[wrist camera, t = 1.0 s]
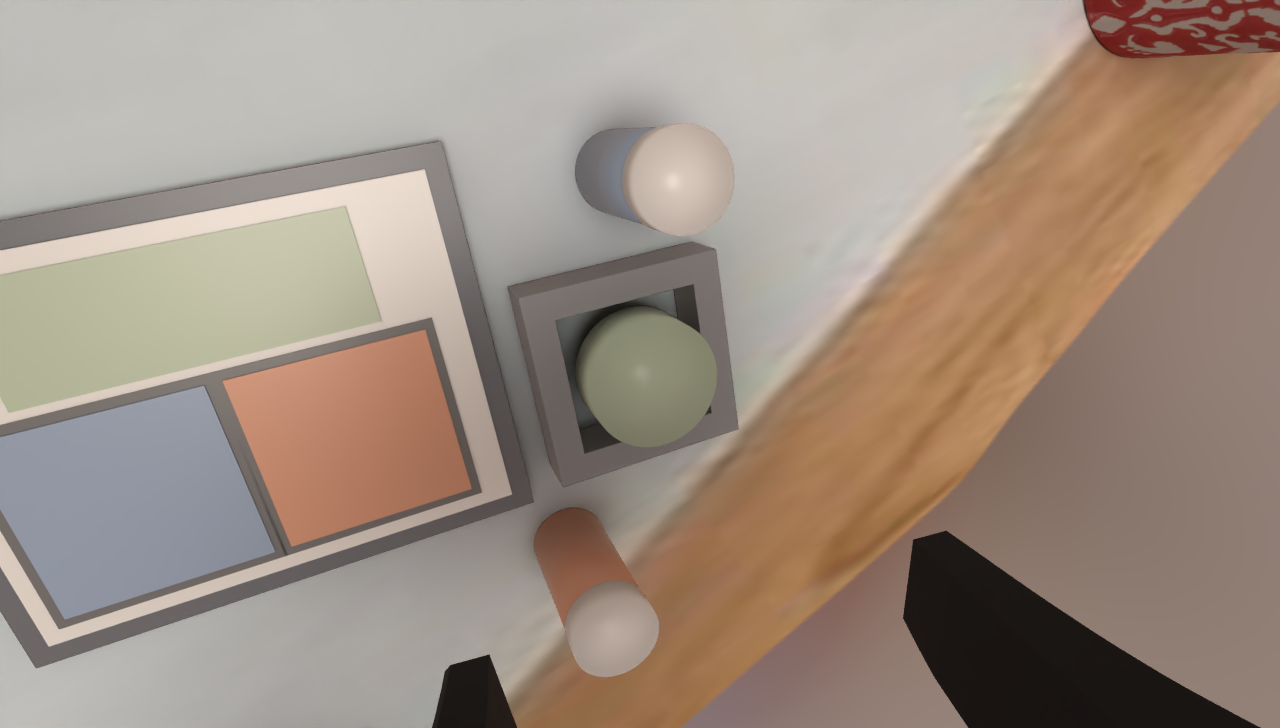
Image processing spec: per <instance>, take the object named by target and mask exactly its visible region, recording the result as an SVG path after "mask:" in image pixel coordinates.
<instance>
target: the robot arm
mask: <svg viewBox="0 0 1280 728" xmlns="http://www.w3.org/2000/svg"><path fill="white" fill-rule="evenodd" d="M903 619H904V621H905V623H906V624H907V627H908V629H909V631H910V632H911V634H912V636H913V638H914V640H915V642H916V644H917V646H918V648H919V650H920V651H921V654H922V655H923V657H924V659H925V661H926V663H927V665H928V666H929V668H930V670H931V672H932V674H933V676H934V677H935V679H936V680H937V682H938V683H939V685H940V686H941V688H942V689H943V691H944V692H945V694H946V695H947V697H948V698H949V700H950V701H951V703H952V704H953V705H954V707H955V709H956V710H957V711H958V713H959V714H960V716H961V718H962V719H963V720H964V722H965V723H966V725H967V726H968V728H1260V727H1258V726H1256V725H1254V724H1252V723H1250V722H1248V721H1246V720H1245V719H1242V718H1241V717H1239V716H1237V715H1235V714H1233V713H1232V712H1230V711H1228V710H1226V709H1224V708H1222V707H1220V706H1219V705H1216V704H1215V703H1213V702H1211V701H1209V700H1207V699H1206V698H1204V697H1202V696H1200V695H1198V694H1196V693H1194V692H1193V691H1191V690H1189V689H1187V688H1185V687H1184V686H1182V685H1180V684H1178V683H1177V682H1175V681H1173V680H1171V679H1169V678H1168V677H1166V676H1164V675H1163V674H1161V673H1159V672H1158V671H1156V670H1154V669H1153V668H1151V667H1149V666H1148V665H1146V664H1144V663H1143V662H1141V661H1140V660H1138V659H1136V658H1135V657H1133V656H1131V655H1130V654H1128V653H1126V652H1125V651H1123V650H1121V649H1120V648H1118V647H1116V646H1115V645H1113V644H1112V643H1110V642H1109V641H1107V640H1106V639H1104V638H1102V637H1101V636H1099V635H1098V634H1096V633H1094V632H1093V631H1091V630H1090V629H1088V628H1087V627H1085V626H1084V625H1082V624H1081V623H1079V622H1078V621H1076V620H1075V619H1073V618H1072V617H1070V616H1069V615H1067V614H1066V613H1064V612H1063V611H1061V610H1060V609H1058V608H1057V607H1055V606H1054V605H1052V604H1051V603H1049V602H1048V601H1046V600H1045V599H1043V598H1042V597H1040V596H1039V595H1038V594H1036V593H1035V592H1033V591H1032V590H1030V589H1029V588H1027V587H1026V586H1024V585H1023V584H1022V583H1020V582H1019V581H1017V580H1016V579H1014V578H1013V577H1012V576H1010V575H1009V574H1007V573H1006V572H1004V571H1003V570H1002V569H1000V568H999V567H997V566H996V565H994V564H993V563H992V562H990V561H989V560H987V559H986V558H985V557H983V556H982V555H980V554H979V553H977V552H976V551H975V550H973V549H972V548H970V547H969V546H967V545H966V544H965V543H963V542H962V541H960V540H959V539H957V538H956V537H955V536H953V535H952V534H950V533H949V532H947V531H944V532H940V533H936V534H932V535H929V536H925V537H921V538H918V539H914V540H913V546H912V554H911V562H910V569H909V578H908V584H907V593H906V600H905V608H904V615H903ZM432 728H517V726H516V723H515V721H514V718H513V716H512V713H511V710H510V708H509V705H508V702H507V700H506V697H505V695H504V692H503V689H502V687H501V684H500V681H499V679H498V676H497V674H496V671H495V668H494V666H493V663H492V660H491V658H490V655H486V656H482V657H479V658H475V659H471V660H468V661H464V662H460V663H456V664H453V665H450V666H449V667H448V669H447V670H446V671H445V674H444V679H443V684H442V689H441V693H440V698H439V702H438V706H437V711H436V715H435V719H434V722H433V726H432Z"/></svg>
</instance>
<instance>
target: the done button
mask: <svg viewBox="0 0 1280 728" xmlns="http://www.w3.org/2000/svg"><path fill="white" fill-rule="evenodd" d="M575 377H576V384H577V388H578V391H579V394H580V396H581V398H582V400H583V402H584V403H585V405H586V406H587V407H588V408H589V410H590V411H591V412H592V413H593V415H594V416H595V417H596V418H597V420H598V421H599V422H600V423H601V425H602V426H603V427H604V428H605V429H606V430H607V432H608V433H610V434H611V435H612V436H613V437H614V438H616V439H618V440H619V441H621V442H623V443H626V444H628V445H632V446H637V447H656V446H661V445H665V444H668V443H671V442H673V441H675V440H677V439H679V438H681V437H682V436H684V435H685V434H687V433H688V432H689V431H690V430H692V429H693V428H694V427H695V426H696V425H697V424H698V423H699V422H700V420H701V419H702V418H703V416H704V415H705V414H706V412H707V410H708V408H709V407H710V404H711V402H712V400H713V397H714V393H715V390H716V384H717V366H716V362H715V358H714V355H713V352H712V350H711V348H710V346H709V344H708V343H707V342H706V340H705V339H704V338H703V337H702V336H701V335H700V333H698V332H697V331H696V330H694V329H693V328H692V327H690V326H688V325H686V324H685V323H683V322H681V321H680V320H678V319H676V318H674V317H673V316H671V315H669V314H667V313H666V312H664V311H662V310H659V309H656V308H652V307H646V306H635V307H628V308H624V309H621V310H618V311H616V312H614V313H612V314H610V315H608V316H607V317H605V318H604V319H602V320H601V321H600V322H599V323H597V324H596V325H595V326H594V327H593V329H592V330H591V331H590V332H589V333H588V335H587V336H586V338H585V340H584V341H583V343H582V345H581V347H580V350H579V352H578V356H577V360H576V367H575Z"/></svg>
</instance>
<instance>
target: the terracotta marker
mask: <svg viewBox="0 0 1280 728" xmlns="http://www.w3.org/2000/svg"><path fill="white" fill-rule="evenodd" d="M534 551H535V554H536V557H537V560H538V562H539V565H540V567H541V570H542V572H543V575H544V577H545V580H546V582H547V585H548V588H549V590H550V593H551V595H552V598H553V600H554V603H555V605H556V608H557V610H558V613H559V615H560V618H561V621H562V623H563V626H564V628H565V633H566V637H567V640H568V643H569V645H570V648H571V650H572V653H573V655H574V658H575V660H576V662H577V664H578V665H579V667H580V668H581V669H582V670H584V671H585V672H587V673H588V674H591V675H594V676H598V677H612V676H617V675H620V674H623V673H625V672H628V671H630V670H631V669H633V668H635V667H636V666H637V665H639V664H640V663H641V662H642V661H643V660H645V658H646V657H647V656H648V655H649V654H650V652H651V651H652V649H653V648H654V646H655V644H656V641H657V638H658V634H659V621H658V617H657V615H656V613H655V611H654V610H653V608H652V606H651V605H650V603H649V601H648V600H647V598H646V596H645V595H644V593H643V592H642V591H641V590H640V589H639V587H638V586H637V584H636V582H635V581H634V579H633V577H632V576H631V574H630V572H629V571H628V569H627V567H626V566H625V564H624V562H623V561H622V559H621V557H620V556H619V554H618V552H617V551H616V549H615V547H614V545H613V544H612V542H611V540H610V539H609V537H608V535H607V534H606V532H605V530H604V529H603V527H602V525H601V524H600V522H599V520H598V519H597V518H596V517H595V516H594V515H593V514H592V513H591V512H589V511H587V510H584V509H580V508H569V509H564V510H561V511H558V512H556V513H554V514H553V515H551V516H550V517H548V518H547V519H546V520H545V521H544V522H543V523H542V524H541V526H540V527H539V529H538V531H537V533H536V535H535V539H534Z"/></svg>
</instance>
